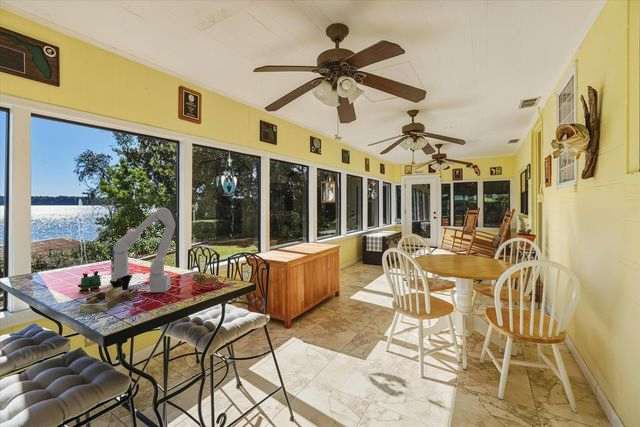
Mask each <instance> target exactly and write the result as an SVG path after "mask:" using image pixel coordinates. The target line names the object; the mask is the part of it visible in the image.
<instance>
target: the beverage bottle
mask: <svg viewBox="0 0 640 427" xmlns="http://www.w3.org/2000/svg"><path fill="white" fill-rule="evenodd" d="M111 252H112V253H111V254H112V256H113V257H112V258H111V260H110V262H111V264H110V269H111V270H110V272H111V275H110V276H111V277H113V276H112V274H114V256H115V255H114V253H115V251H114V249H112V250H111ZM129 265H130V264H129V263H128V267H130V266H129Z"/></svg>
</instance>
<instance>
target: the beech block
mask: <svg viewBox="0 0 640 427" xmlns="http://www.w3.org/2000/svg"><path fill="white" fill-rule="evenodd" d="M104 292H105V299H104V301H105V302H108V301H110V300H111V299H113V298H115V297H116V296H118V295H120V294H123V289H122V287H113V286H112V287H109V288H107V289H106V290H105V291H104Z"/></svg>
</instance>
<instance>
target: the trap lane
mask: <svg viewBox="0 0 640 427" xmlns="http://www.w3.org/2000/svg"><path fill="white" fill-rule="evenodd" d="M127 291H128V292H127V293H122V294H120V295H118V296H116V297H115V298H113V299H111V300H110V301H105V291H98V292H96V293H94V294H92V295H89V296H88V297H86V298H85V299H86V301H85V302H83V303H81V304H79V312H80V313H87V312H88V313H89V312H91V313H92V312H93V313H94V312H95V313H96V312H106V311H108V310H110V309H112V308H113V307H115V306H116V305H118V304H120V303H121V302H123V301H131V300H132V299H133V298H135V297H137V296H138V295H139V288H135V286H132V287H130V288H128V289H127ZM103 300H104V301H105V303H100V302H102V301H103Z"/></svg>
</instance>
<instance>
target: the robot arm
mask: <svg viewBox="0 0 640 427" xmlns="http://www.w3.org/2000/svg"><path fill="white" fill-rule="evenodd" d="M159 221H161V222H162V223H163V225H164V226H165V227H164V231H163V234H162V238H161V240H160V243H159V246H158V249H157V252H156V255H155V258H154V260H153V261H152V262H151V264H150V267H149V271H150V273H149V289H148V290H146V293H166V292H167V291H169V290H170V289H171V288H172V287H171V274H170V273H166V272H165V260H166V257H167V254H168V250H169V247H170V245H171V242H172V239H173V236H174V232H175V228H176V221H175V219H174V216H173V214H172V212H171V211H170V209H168V208H166V207H160V208H158V209H157V210H156V211H154V212H153V213H151V214H150V215H148V216H147V217H146V219H144V220H143V221H142V222H141V224H139V225H138V226H137V228H135V229H130V230H126V234H125V235H123V236H122V237H121V238H119V239H118V241H117V242H115V243H114V245H113V247H112V248H113V249H114V251H115V253H114V255H115V256H114V255H113V256H114V274H112V276H113V277H111V278H110V280H109V283H110V284H111V286H112V288H113V287H122V291H126V290H127V291H128V289H129V284H130V283H131V282H130V281H131V279H132V278H133V275H132V274H131V272H132V271H131V269H129V266H128V264H129V256H128V249H129V247H132V246H133V245H134V243H136V242H137V241H138V240H139V239H140V238H141V236H142V235H141V233H143V232H144V231H145V230H146V229H147V228H148V227H149V226H150V225H152V223H155V222H159ZM113 249H112V250H113Z"/></svg>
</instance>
